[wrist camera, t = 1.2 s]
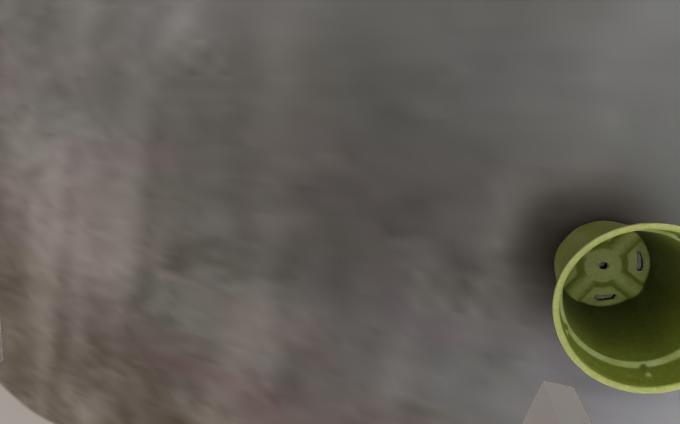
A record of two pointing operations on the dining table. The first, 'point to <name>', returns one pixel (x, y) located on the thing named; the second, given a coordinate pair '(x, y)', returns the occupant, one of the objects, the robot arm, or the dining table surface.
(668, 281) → the plant pot
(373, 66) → the dining table surface
